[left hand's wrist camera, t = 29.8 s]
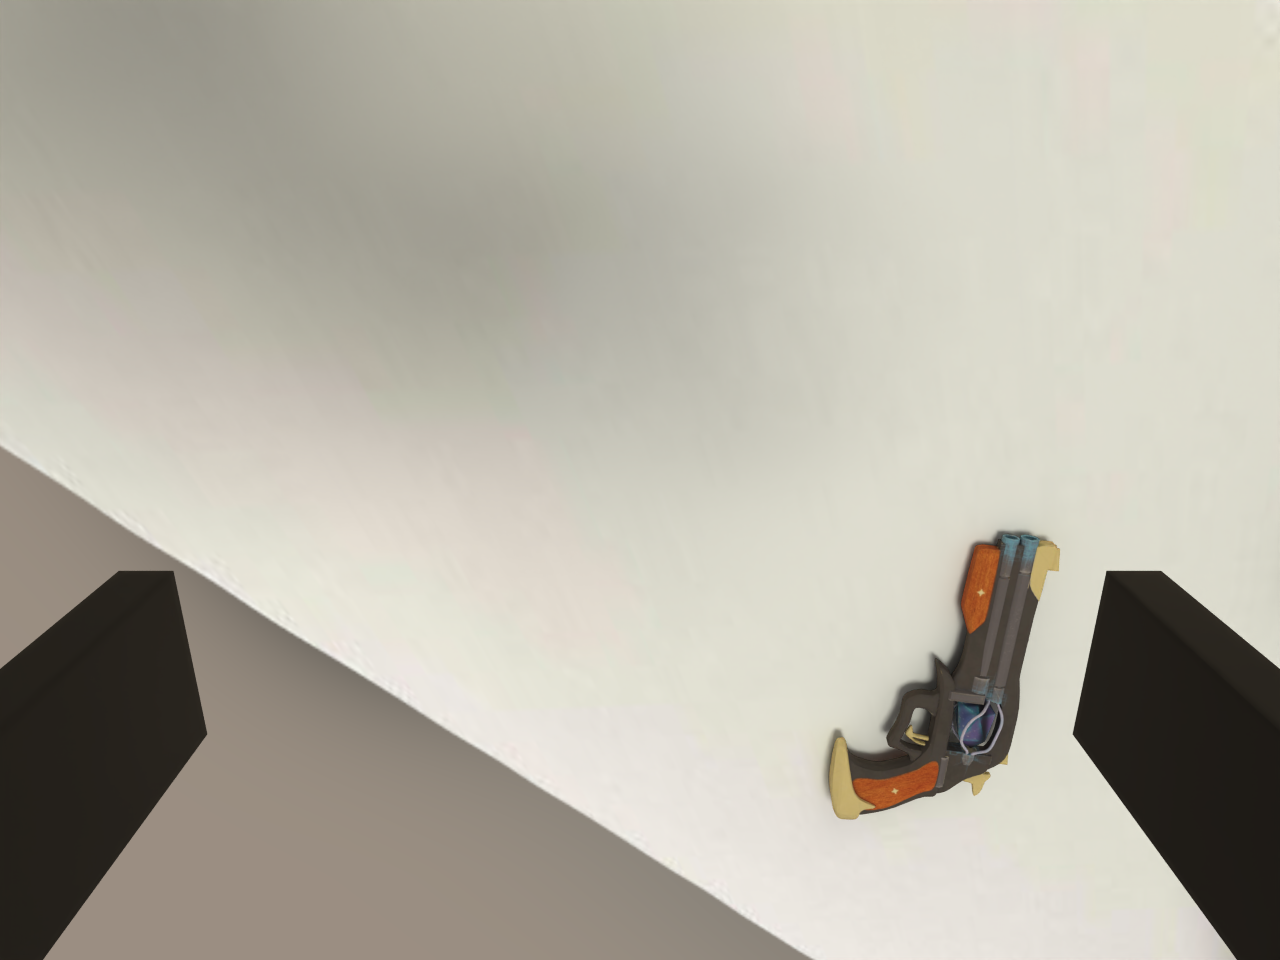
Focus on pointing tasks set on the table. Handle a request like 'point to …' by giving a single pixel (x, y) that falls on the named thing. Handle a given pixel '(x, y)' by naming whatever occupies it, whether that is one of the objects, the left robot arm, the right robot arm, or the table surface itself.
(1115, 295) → the table surface
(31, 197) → the table surface
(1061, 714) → the table surface
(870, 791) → the toy gun
